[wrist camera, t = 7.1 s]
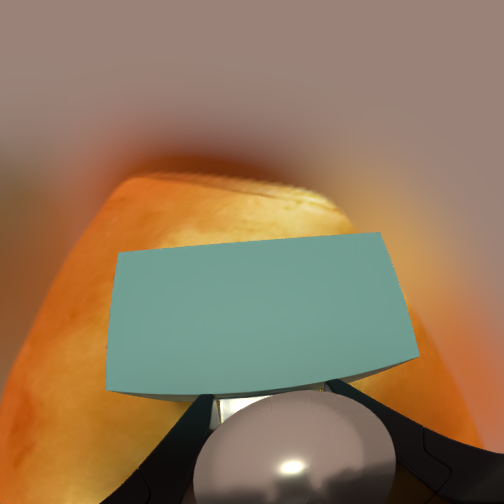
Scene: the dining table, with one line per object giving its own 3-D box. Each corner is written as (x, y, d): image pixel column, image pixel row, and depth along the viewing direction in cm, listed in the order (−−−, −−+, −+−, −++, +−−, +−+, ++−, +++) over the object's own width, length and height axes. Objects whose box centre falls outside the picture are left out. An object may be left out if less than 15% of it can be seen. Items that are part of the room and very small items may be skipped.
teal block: (345, 383, 14) (419, 356, 7) (173, 401, 13) (106, 390, 7) (330, 307, 17) (380, 232, 10) (171, 322, 16) (118, 252, 9)
